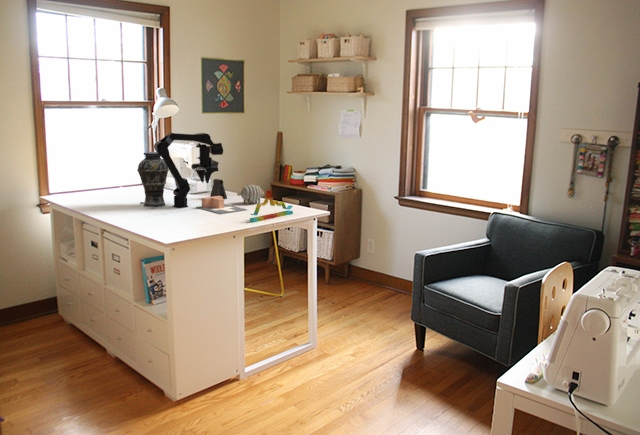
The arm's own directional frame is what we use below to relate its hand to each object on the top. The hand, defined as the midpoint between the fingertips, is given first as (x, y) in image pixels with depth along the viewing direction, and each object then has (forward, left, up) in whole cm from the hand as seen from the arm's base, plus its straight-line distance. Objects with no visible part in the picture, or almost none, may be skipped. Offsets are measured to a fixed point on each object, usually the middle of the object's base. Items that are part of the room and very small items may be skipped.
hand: (204, 182), depth 344 cm
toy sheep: (+24, -12, -13) cm, 30 cm away
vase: (-23, +17, -13) cm, 31 cm away
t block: (0, -11, -12) cm, 16 cm away
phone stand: (+18, +12, -13) cm, 25 cm away
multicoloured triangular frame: (+7, -51, -14) cm, 53 cm away
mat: (0, -16, -13) cm, 20 cm away
